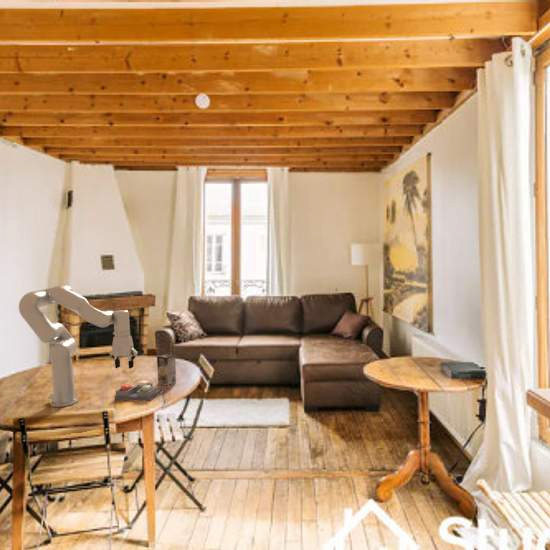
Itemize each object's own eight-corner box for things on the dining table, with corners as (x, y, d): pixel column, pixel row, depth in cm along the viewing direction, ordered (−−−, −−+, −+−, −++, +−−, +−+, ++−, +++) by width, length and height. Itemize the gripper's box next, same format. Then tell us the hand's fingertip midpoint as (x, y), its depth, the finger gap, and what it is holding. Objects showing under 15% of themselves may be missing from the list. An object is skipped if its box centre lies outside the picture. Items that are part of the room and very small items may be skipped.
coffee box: (157, 383, 229) (156, 356, 228) (166, 380, 234) (164, 353, 233) (168, 386, 223) (166, 357, 223) (177, 382, 229) (175, 355, 228)
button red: (118, 391, 206) (118, 387, 206) (124, 388, 210) (124, 384, 210) (127, 391, 205) (126, 387, 204) (132, 388, 209) (132, 384, 209)
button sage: (139, 391, 203) (139, 388, 203) (144, 388, 208) (144, 385, 208) (148, 392, 202) (148, 388, 202) (153, 389, 207) (152, 385, 207)
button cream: (136, 387, 211) (136, 383, 211) (141, 384, 216) (141, 380, 216) (144, 387, 210) (144, 383, 210) (149, 384, 215) (149, 380, 215)
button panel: (114, 399, 205) (114, 391, 204) (131, 389, 219) (130, 381, 219) (149, 401, 200) (149, 392, 200) (164, 391, 215) (163, 382, 215)
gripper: (103, 335, 204) (105, 369, 205) (133, 335, 201) (135, 370, 201) (112, 332, 212) (114, 365, 212) (141, 332, 208) (143, 366, 209)
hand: (124, 367), depth 207 cm, fingers open, 7 cm apart
